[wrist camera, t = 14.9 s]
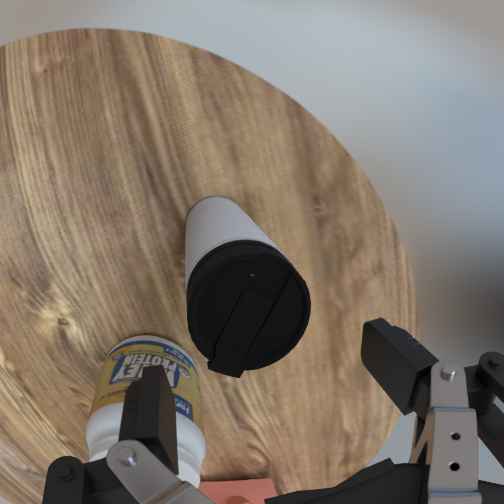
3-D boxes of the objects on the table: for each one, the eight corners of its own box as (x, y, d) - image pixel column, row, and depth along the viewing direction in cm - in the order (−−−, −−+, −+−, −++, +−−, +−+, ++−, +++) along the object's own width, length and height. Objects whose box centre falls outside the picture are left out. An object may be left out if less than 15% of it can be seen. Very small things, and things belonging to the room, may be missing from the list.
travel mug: (174, 242, 33) (163, 358, 14) (201, 185, 31) (223, 235, 13) (227, 265, 35) (274, 390, 16) (255, 211, 33) (341, 289, 15)
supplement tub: (196, 330, 36) (209, 442, 21) (199, 402, 40) (213, 505, 24) (97, 329, 34) (59, 434, 18) (114, 402, 37) (99, 502, 22)
